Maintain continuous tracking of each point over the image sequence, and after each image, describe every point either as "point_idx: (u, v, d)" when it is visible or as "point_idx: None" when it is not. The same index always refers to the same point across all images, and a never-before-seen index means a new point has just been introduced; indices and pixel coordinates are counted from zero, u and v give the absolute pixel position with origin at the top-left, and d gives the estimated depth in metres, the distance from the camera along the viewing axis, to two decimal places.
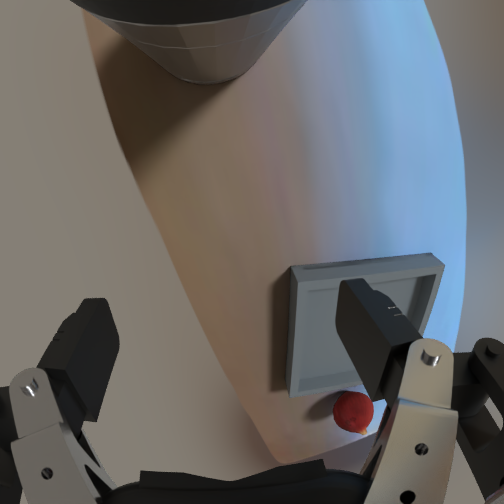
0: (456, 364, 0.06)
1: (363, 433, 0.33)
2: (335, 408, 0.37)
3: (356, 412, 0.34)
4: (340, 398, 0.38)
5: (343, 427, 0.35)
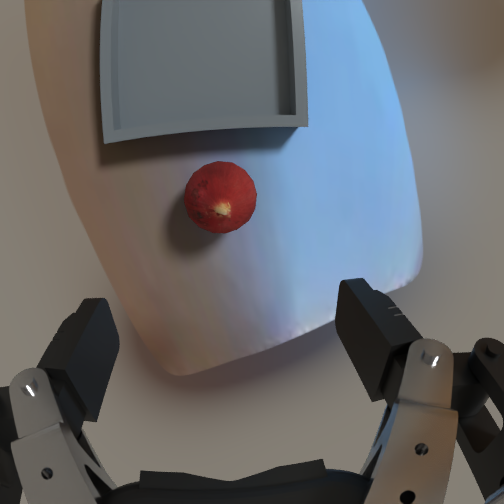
0: (456, 364, 0.06)
1: (221, 209, 0.20)
2: None
3: (210, 172, 0.22)
4: None
5: (192, 211, 0.22)
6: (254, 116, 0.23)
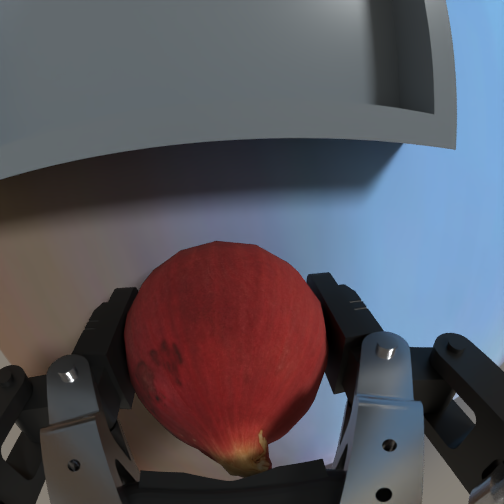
0: (416, 359, 0.06)
1: (238, 469, 0.05)
2: None
3: (189, 311, 0.06)
4: None
5: None
6: (331, 104, 0.07)
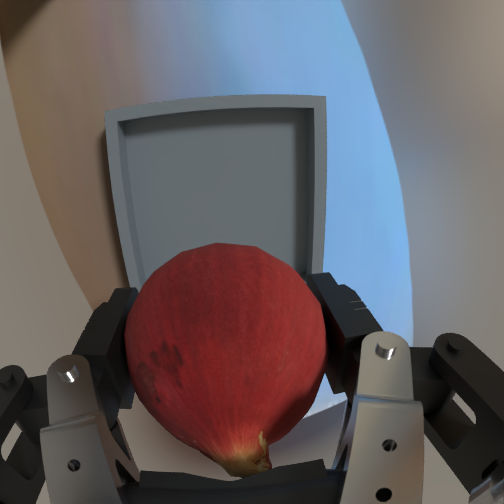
0: (416, 359, 0.06)
1: (238, 470, 0.05)
2: None
3: (190, 313, 0.06)
4: None
5: None
6: None
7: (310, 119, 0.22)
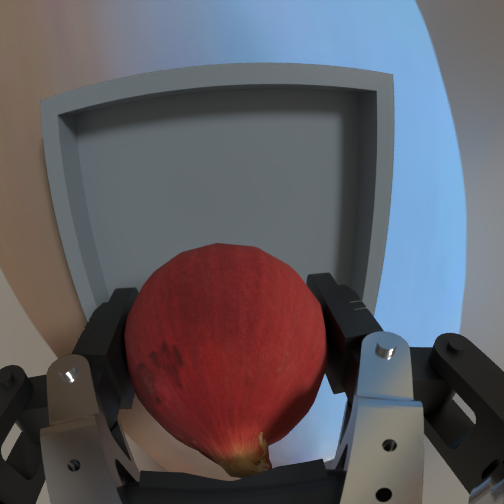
0: (416, 359, 0.06)
1: (238, 471, 0.05)
2: None
3: (189, 313, 0.06)
4: None
5: None
6: None
7: (367, 108, 0.13)
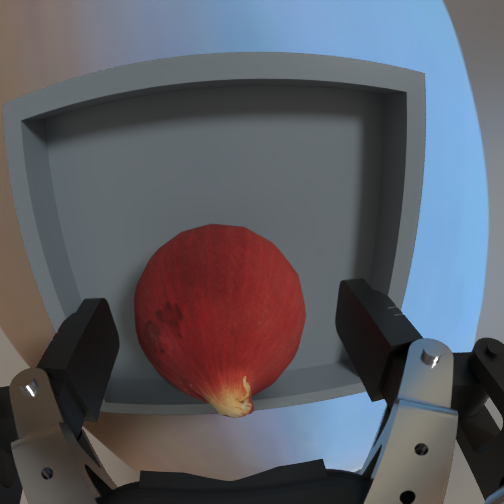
0: (456, 364, 0.06)
1: (226, 408, 0.07)
2: None
3: (188, 278, 0.08)
4: None
5: (153, 366, 0.08)
6: (309, 393, 0.15)
7: (393, 113, 0.11)
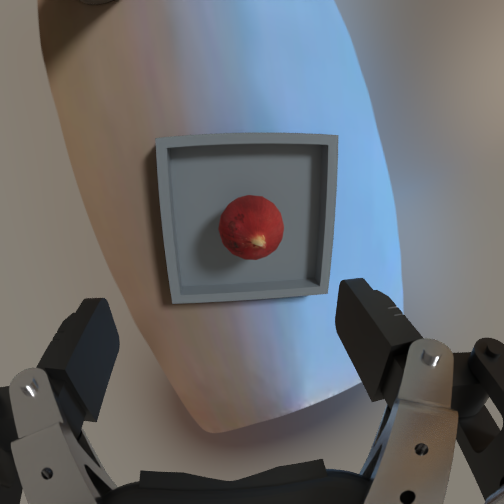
0: (456, 364, 0.06)
1: (258, 241, 0.24)
2: None
3: (245, 206, 0.25)
4: None
5: (229, 241, 0.26)
6: (289, 289, 0.32)
7: (324, 153, 0.28)
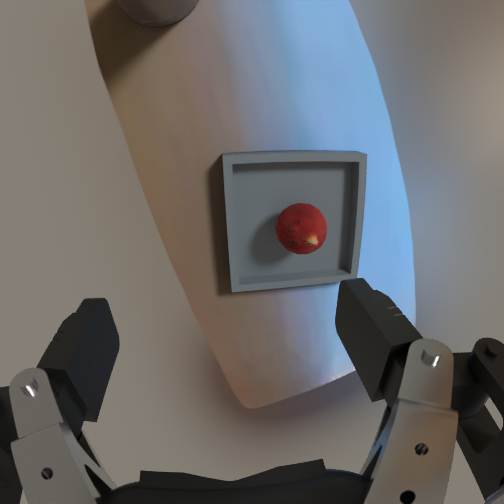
0: (456, 364, 0.06)
1: (312, 240, 0.30)
2: (277, 222, 0.35)
3: (300, 213, 0.32)
4: None
5: (287, 240, 0.32)
6: (327, 277, 0.39)
7: (355, 167, 0.35)
